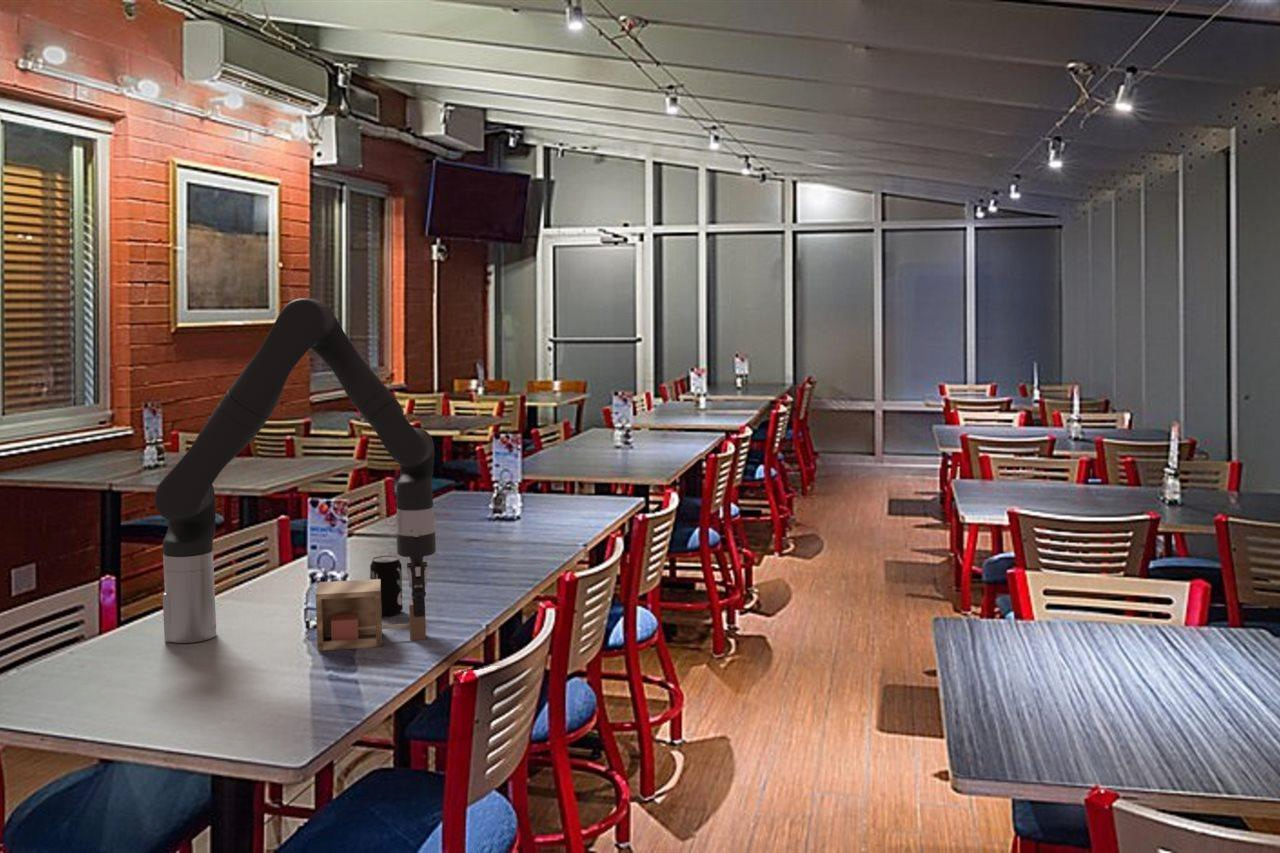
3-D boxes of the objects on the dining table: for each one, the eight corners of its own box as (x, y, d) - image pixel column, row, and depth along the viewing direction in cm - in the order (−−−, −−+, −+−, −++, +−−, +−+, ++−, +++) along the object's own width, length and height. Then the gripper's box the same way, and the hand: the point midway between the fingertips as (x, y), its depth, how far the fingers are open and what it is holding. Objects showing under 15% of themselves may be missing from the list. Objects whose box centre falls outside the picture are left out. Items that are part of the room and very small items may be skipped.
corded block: (331, 646, 225) (330, 611, 225) (332, 639, 230) (331, 604, 229) (426, 640, 229) (425, 605, 228) (425, 633, 234) (424, 599, 233)
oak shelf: (317, 650, 222) (315, 594, 221) (320, 636, 232) (318, 582, 231) (381, 646, 225) (380, 590, 224) (382, 632, 235) (380, 579, 233)
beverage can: (395, 618, 246) (393, 562, 244) (366, 616, 247) (364, 560, 246) (407, 610, 252) (406, 555, 251) (379, 608, 253) (377, 554, 252)
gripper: (396, 524, 235) (399, 603, 237) (396, 538, 221) (399, 621, 223) (433, 522, 237) (436, 600, 238) (436, 536, 223) (439, 618, 225)
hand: (418, 610), depth 231 cm, fingers open, 8 cm apart
